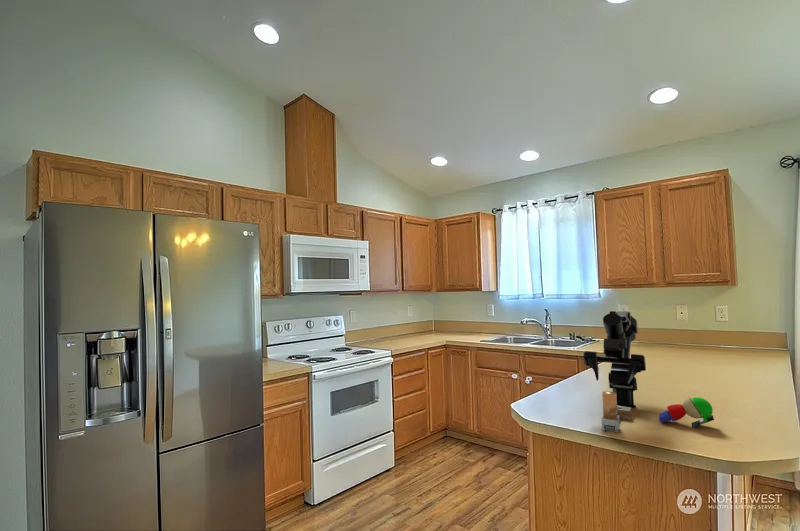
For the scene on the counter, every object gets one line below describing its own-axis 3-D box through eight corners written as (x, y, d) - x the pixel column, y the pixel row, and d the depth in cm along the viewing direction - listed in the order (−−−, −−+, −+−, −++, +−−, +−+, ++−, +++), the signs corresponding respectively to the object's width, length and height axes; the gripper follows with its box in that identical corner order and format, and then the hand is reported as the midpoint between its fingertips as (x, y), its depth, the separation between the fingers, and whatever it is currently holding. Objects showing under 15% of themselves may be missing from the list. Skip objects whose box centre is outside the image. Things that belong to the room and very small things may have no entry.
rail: (612, 418, 143) (612, 413, 143) (620, 419, 142) (620, 414, 142) (605, 430, 131) (605, 425, 131) (614, 432, 129) (614, 427, 129)
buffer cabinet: (606, 412, 149) (605, 403, 149) (631, 416, 145) (631, 406, 145) (603, 416, 145) (603, 406, 145) (630, 420, 141) (629, 409, 141)
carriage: (604, 425, 135) (602, 390, 136) (619, 427, 133) (618, 391, 133) (602, 429, 131) (600, 393, 132) (617, 432, 128) (615, 395, 129)
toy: (670, 437, 133) (720, 419, 127) (654, 414, 136) (702, 395, 129) (670, 429, 141) (717, 412, 134) (655, 407, 143) (700, 389, 136)
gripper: (583, 328, 150) (577, 364, 140) (643, 330, 139) (641, 370, 129) (588, 347, 156) (583, 383, 146) (646, 351, 145) (645, 390, 136)
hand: (612, 381), depth 139 cm, fingers open, 9 cm apart
